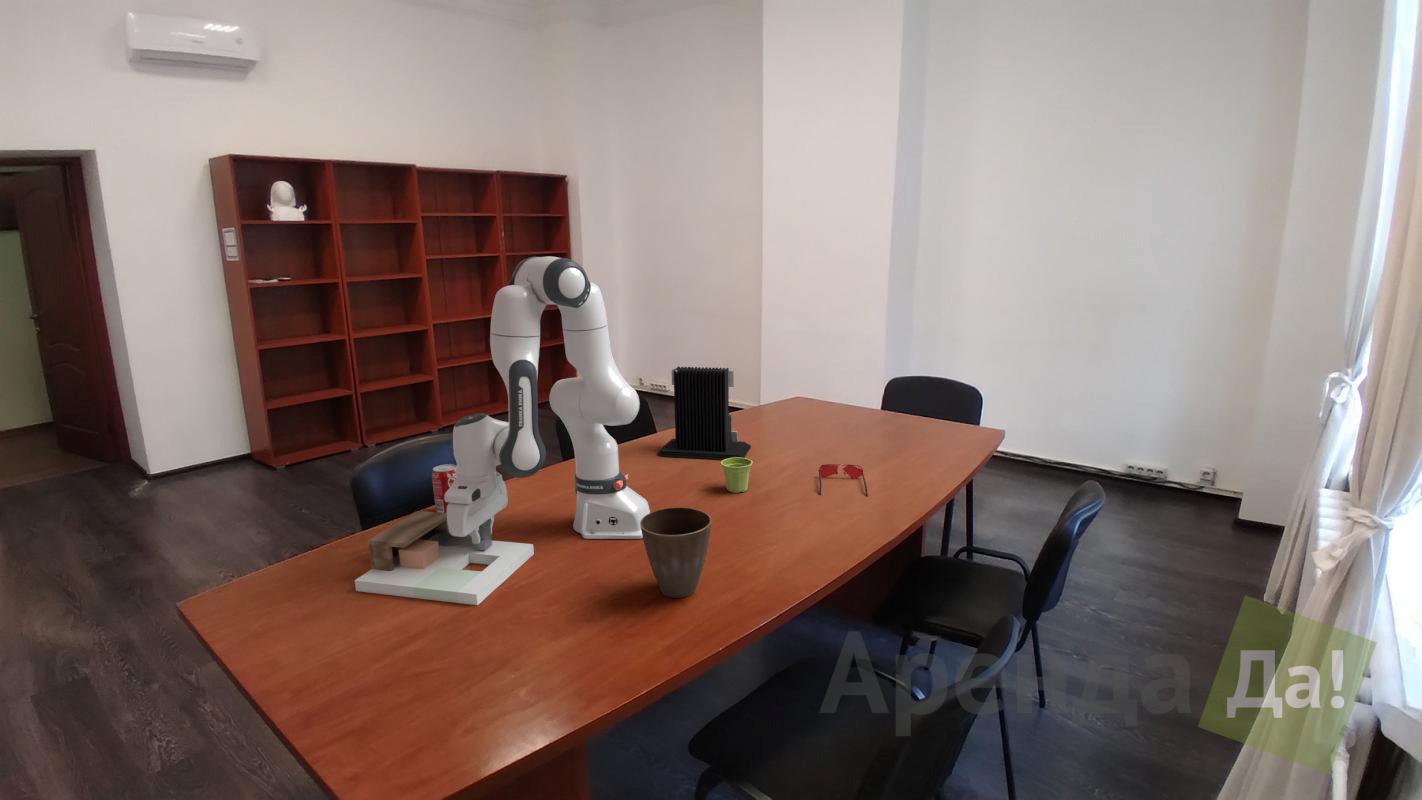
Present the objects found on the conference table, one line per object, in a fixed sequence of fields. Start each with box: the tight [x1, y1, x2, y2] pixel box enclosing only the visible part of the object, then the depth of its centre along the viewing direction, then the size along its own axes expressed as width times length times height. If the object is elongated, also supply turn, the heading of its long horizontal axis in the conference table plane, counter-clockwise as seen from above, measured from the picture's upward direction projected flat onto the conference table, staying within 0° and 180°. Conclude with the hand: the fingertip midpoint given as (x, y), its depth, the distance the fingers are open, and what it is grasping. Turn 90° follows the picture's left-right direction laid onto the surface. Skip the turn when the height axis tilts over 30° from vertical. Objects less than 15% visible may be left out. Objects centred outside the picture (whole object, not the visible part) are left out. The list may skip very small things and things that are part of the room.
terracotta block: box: [399, 539, 440, 569], centre depth 164 cm, size 6×6×4 cm
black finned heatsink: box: [657, 366, 752, 461], centre depth 249 cm, size 30×19×30 cm, turn 77°
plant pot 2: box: [720, 457, 753, 494], centre depth 213 cm, size 9×9×9 cm
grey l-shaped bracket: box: [422, 519, 493, 550], centre depth 169 cm, size 14×7×8 cm, turn 76°
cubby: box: [367, 510, 449, 571], centre depth 167 cm, size 9×18×7 cm, turn 166°
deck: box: [354, 539, 535, 606], centre depth 164 cm, size 30×25×2 cm
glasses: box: [818, 463, 869, 497], centre depth 215 cm, size 14×16×5 cm
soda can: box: [431, 463, 457, 513], centre depth 199 cm, size 7×7×13 cm
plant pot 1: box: [640, 507, 712, 599], centre depth 153 cm, size 15×15×16 cm
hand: (482, 538), depth 170 cm, fingers closed on grey l-shaped bracket, 3 cm apart
